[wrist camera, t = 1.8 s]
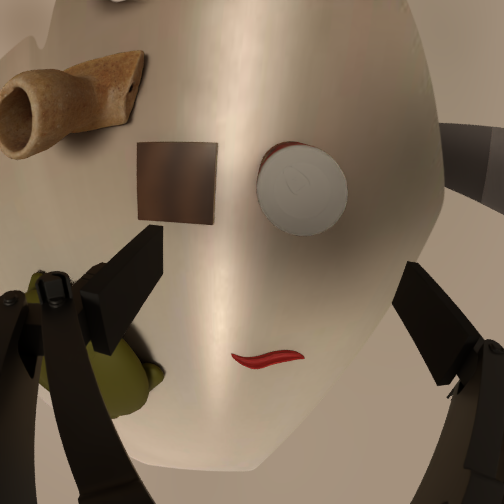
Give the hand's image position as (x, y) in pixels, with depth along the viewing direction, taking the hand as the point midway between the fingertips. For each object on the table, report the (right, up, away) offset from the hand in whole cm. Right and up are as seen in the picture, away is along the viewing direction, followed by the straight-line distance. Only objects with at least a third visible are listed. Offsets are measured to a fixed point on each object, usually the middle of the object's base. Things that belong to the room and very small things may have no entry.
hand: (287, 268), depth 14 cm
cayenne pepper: (+1, -16, +31) cm, 35 cm away
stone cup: (-22, +21, +16) cm, 34 cm away
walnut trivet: (-11, +9, +20) cm, 25 cm away
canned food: (+3, +10, +19) cm, 22 cm away
